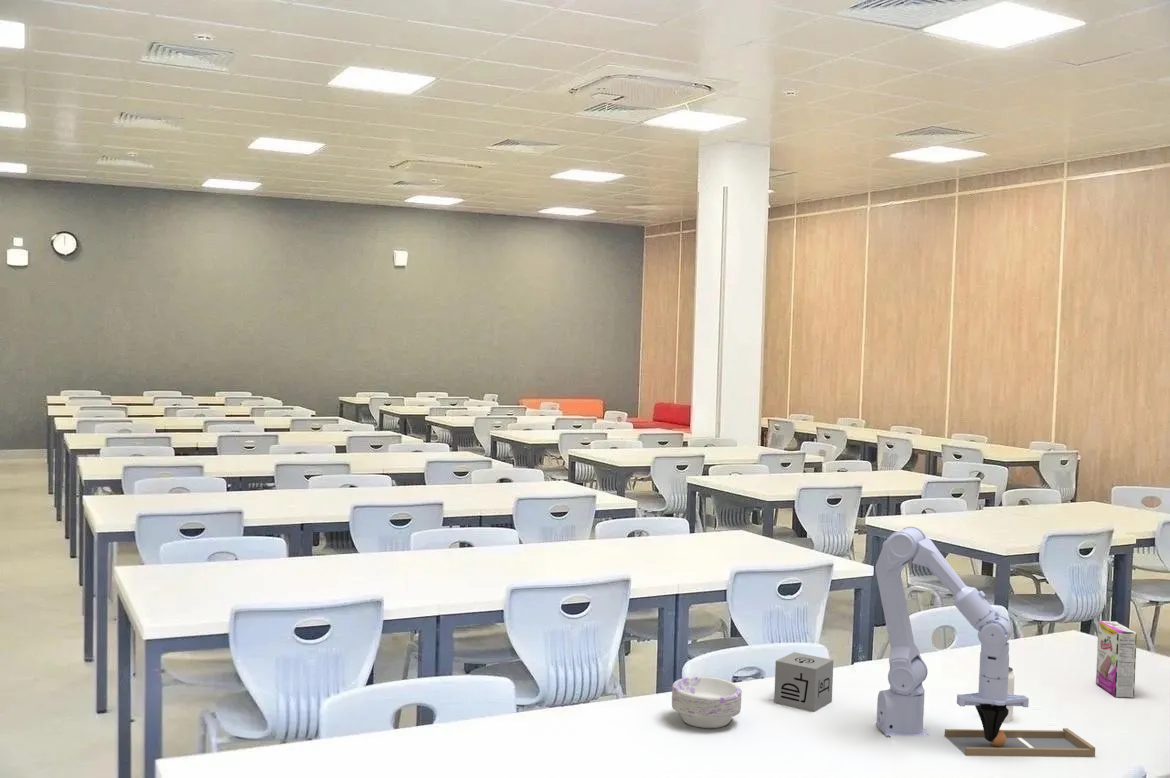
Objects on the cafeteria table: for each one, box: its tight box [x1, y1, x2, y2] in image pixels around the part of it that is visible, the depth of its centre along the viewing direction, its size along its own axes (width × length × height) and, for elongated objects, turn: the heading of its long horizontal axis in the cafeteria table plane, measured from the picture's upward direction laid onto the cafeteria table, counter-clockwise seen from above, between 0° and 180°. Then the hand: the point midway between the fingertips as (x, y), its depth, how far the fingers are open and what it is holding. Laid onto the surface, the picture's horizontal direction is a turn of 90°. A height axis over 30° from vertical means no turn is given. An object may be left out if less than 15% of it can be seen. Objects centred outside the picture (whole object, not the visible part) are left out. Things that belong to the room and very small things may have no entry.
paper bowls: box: [671, 676, 743, 729], centre depth 243 cm, size 15×15×8 cm
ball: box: [990, 729, 1006, 747], centre depth 231 cm, size 4×4×4 cm
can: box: [1002, 666, 1015, 724], centre depth 250 cm, size 6×6×12 cm
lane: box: [944, 727, 1096, 758], centre depth 232 cm, size 27×12×2 cm, turn 93°
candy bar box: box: [1095, 620, 1138, 699], centre depth 275 cm, size 11×5×16 cm, turn 179°
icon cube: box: [773, 651, 834, 713], centre depth 258 cm, size 10×10×10 cm
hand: (991, 739), depth 231 cm, fingers closed, pressing on ball
